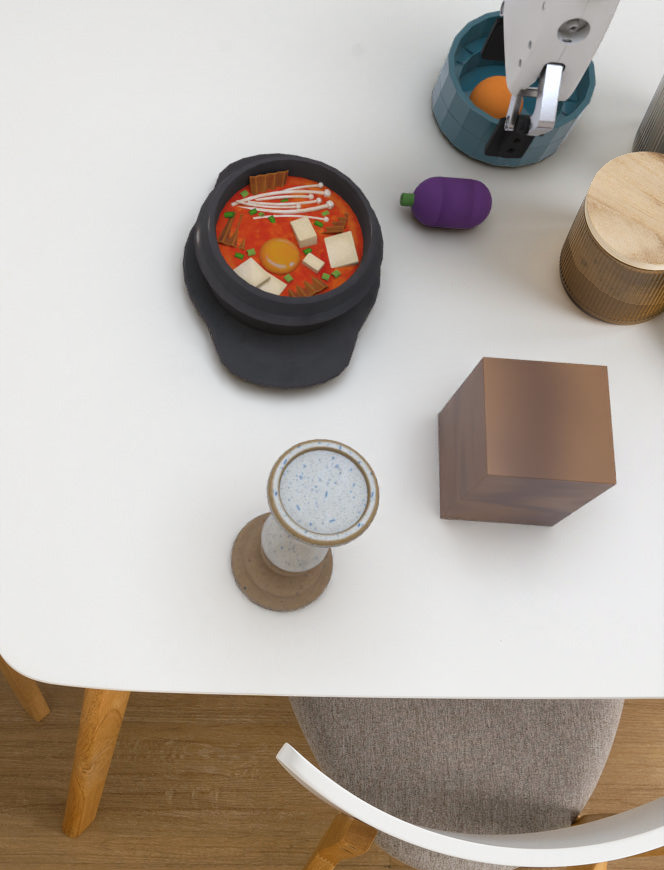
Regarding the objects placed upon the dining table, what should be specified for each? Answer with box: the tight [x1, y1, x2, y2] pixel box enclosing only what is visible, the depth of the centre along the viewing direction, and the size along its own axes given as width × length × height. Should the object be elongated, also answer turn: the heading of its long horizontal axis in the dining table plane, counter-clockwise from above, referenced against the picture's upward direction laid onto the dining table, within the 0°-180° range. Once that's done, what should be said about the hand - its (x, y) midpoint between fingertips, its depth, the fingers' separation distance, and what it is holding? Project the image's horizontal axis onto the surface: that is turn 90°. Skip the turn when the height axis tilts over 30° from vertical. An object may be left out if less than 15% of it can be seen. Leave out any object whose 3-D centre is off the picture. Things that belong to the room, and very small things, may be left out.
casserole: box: [182, 152, 384, 390], centre depth 88 cm, size 25×19×8 cm
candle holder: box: [230, 438, 380, 612], centre depth 74 cm, size 9×9×20 cm
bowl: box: [431, 10, 597, 168], centre depth 96 cm, size 14×14×6 cm
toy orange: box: [469, 76, 523, 120], centre depth 95 cm, size 5×5×5 cm
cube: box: [437, 356, 618, 527], centre depth 81 cm, size 10×10×12 cm
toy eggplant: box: [399, 176, 493, 230], centre depth 93 cm, size 9×5×5 cm, turn 86°
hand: (500, 105), depth 81 cm, fingers open, 9 cm apart
